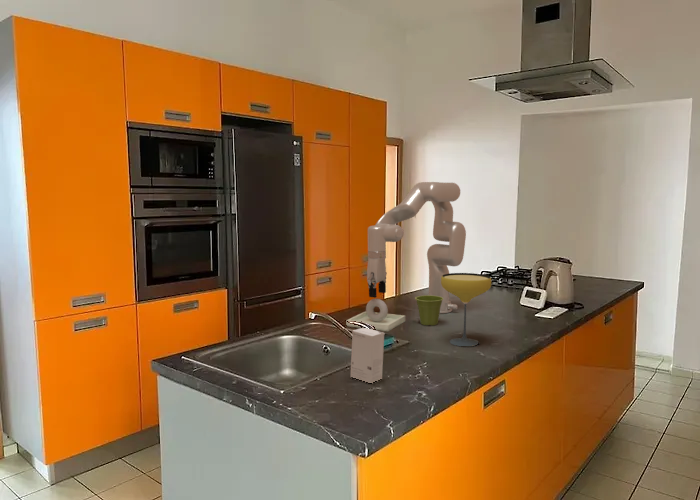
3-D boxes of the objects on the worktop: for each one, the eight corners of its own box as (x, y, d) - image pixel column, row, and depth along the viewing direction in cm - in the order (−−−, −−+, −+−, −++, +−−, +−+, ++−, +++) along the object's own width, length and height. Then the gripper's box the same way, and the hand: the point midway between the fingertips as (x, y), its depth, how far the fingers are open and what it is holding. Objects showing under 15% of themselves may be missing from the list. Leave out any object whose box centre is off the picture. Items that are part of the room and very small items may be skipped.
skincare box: (350, 378, 158) (350, 330, 157) (362, 373, 163) (362, 326, 161) (372, 385, 153) (372, 335, 151) (384, 379, 158) (384, 331, 156)
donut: (389, 322, 223) (389, 299, 222) (385, 323, 220) (385, 300, 219) (368, 319, 228) (368, 296, 227) (364, 321, 225) (364, 298, 224)
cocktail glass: (481, 352, 184) (483, 282, 181) (432, 345, 192) (434, 278, 190) (494, 340, 199) (496, 275, 196) (448, 333, 208) (450, 271, 205)
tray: (405, 321, 228) (405, 315, 228) (388, 331, 211) (388, 325, 211) (365, 316, 237) (365, 311, 237) (346, 326, 220) (346, 320, 220)
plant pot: (419, 319, 232) (420, 294, 231) (446, 322, 227) (446, 296, 225) (410, 325, 221) (411, 299, 220) (438, 328, 216) (438, 301, 215)
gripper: (377, 252, 230) (377, 290, 232) (359, 257, 215) (360, 298, 217) (393, 252, 227) (393, 291, 229) (376, 258, 212) (377, 299, 214)
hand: (377, 294), depth 223 cm, fingers open, 9 cm apart
